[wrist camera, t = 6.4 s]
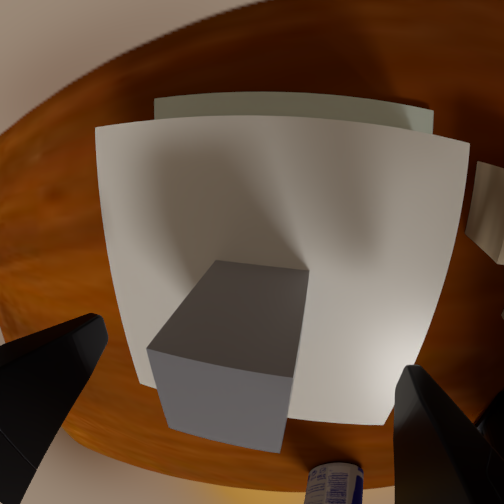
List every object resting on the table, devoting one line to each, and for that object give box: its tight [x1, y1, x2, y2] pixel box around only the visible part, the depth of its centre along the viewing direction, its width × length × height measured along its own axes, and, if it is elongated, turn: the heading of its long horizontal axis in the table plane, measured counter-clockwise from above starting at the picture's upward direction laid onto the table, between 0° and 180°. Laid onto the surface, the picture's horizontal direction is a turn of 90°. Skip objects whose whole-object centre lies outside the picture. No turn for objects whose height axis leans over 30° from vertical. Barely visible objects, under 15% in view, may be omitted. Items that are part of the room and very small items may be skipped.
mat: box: [154, 92, 434, 134], centre depth 16 cm, size 15×14×1 cm
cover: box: [95, 115, 470, 453], centre depth 11 cm, size 12×12×10 cm
